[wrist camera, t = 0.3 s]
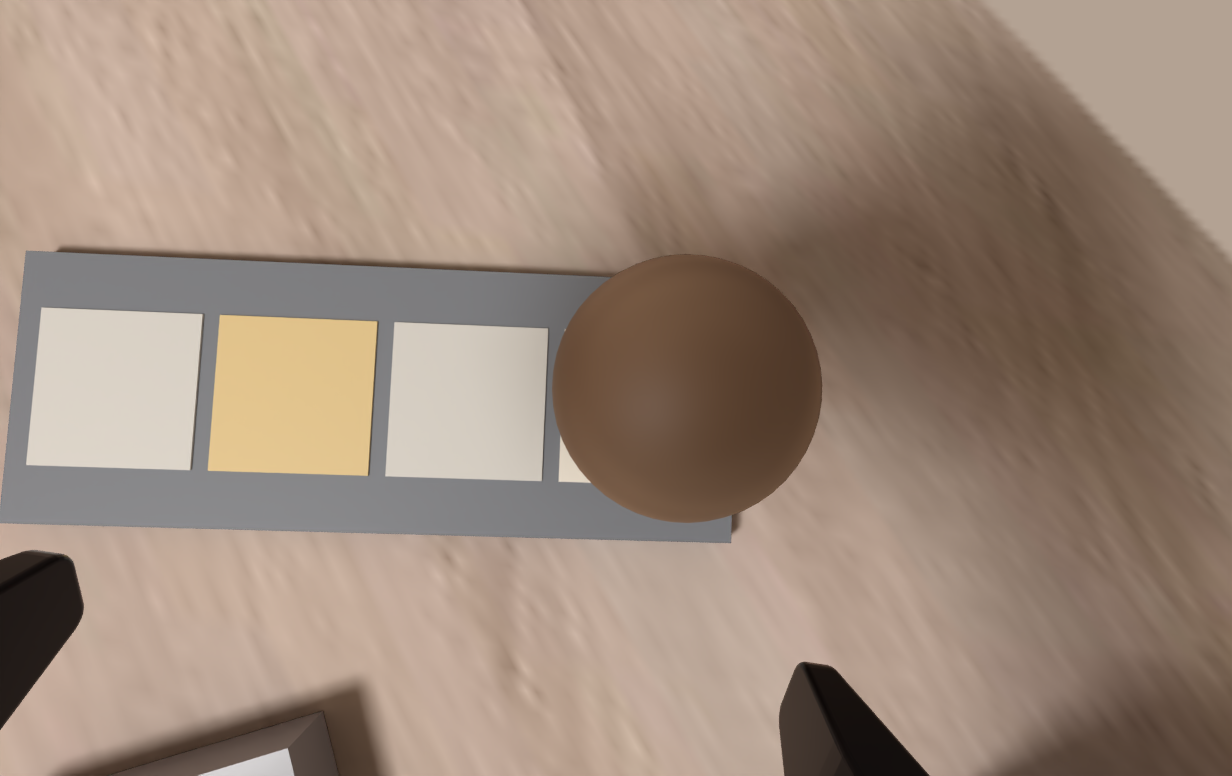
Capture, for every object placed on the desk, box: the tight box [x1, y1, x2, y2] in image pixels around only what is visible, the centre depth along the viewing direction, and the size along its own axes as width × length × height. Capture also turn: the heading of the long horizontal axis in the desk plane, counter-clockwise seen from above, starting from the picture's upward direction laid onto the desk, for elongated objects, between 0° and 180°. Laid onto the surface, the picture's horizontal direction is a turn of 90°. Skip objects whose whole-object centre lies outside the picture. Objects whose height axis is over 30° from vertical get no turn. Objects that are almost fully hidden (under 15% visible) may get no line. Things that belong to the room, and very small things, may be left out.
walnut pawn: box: [552, 254, 822, 523], centre depth 15 cm, size 5×5×12 cm
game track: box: [0, 251, 732, 543], centre depth 21 cm, size 24×9×1 cm, turn 88°
